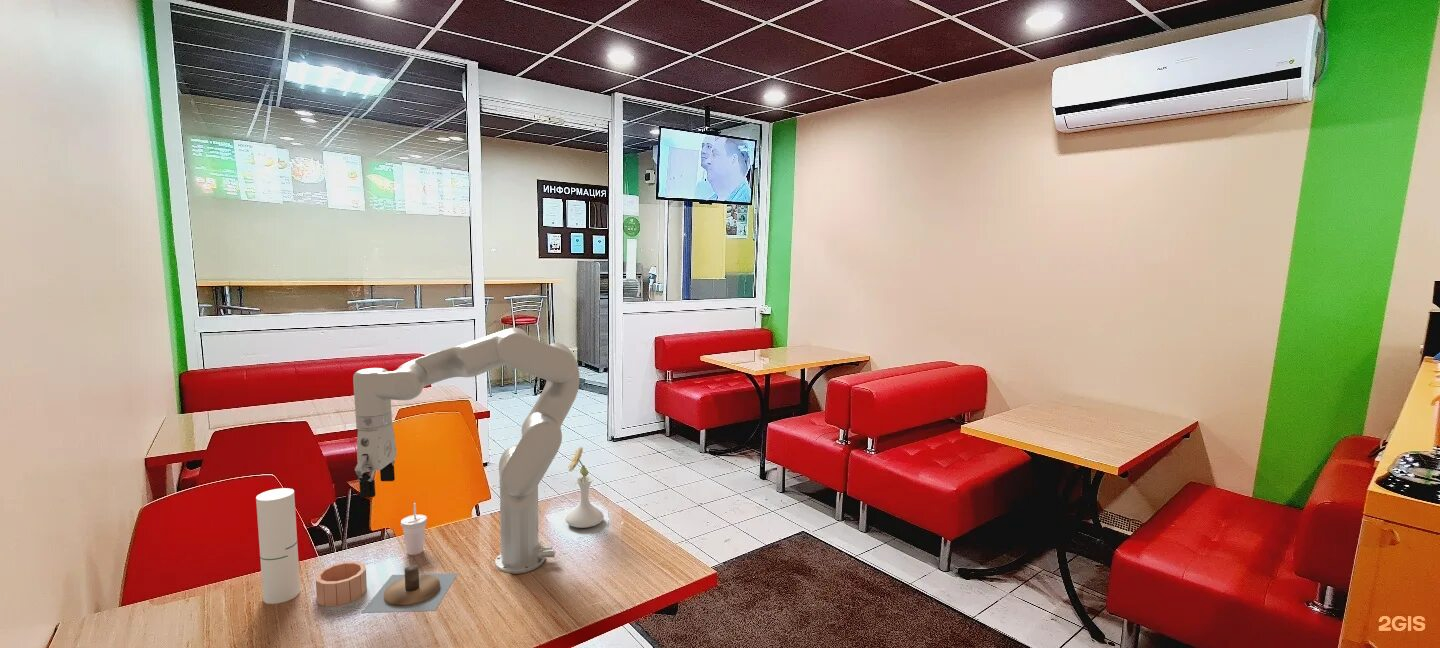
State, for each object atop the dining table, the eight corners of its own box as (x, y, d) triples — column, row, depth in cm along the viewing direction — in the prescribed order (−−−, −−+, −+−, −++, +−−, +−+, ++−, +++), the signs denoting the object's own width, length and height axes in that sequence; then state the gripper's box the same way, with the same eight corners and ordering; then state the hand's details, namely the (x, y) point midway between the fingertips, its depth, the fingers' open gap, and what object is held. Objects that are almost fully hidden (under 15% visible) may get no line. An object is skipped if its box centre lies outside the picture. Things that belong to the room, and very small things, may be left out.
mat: (458, 575, 156) (458, 573, 156) (435, 612, 140) (435, 610, 140) (392, 577, 154) (392, 574, 154) (361, 615, 138) (361, 612, 138)
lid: (447, 577, 154) (446, 555, 153) (429, 605, 142) (428, 581, 141) (396, 579, 152) (395, 556, 152) (374, 607, 140) (373, 582, 140)
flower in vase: (572, 513, 193) (572, 436, 190) (608, 516, 192) (608, 439, 189) (557, 532, 180) (557, 450, 177) (595, 535, 179) (595, 452, 176)
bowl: (374, 583, 151) (373, 560, 150) (354, 607, 141) (352, 583, 140) (331, 585, 150) (329, 561, 149) (307, 608, 140) (306, 584, 139)
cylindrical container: (307, 590, 147) (301, 490, 144) (277, 606, 141) (270, 502, 138) (286, 584, 150) (279, 486, 146) (255, 600, 143) (248, 497, 140)
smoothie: (433, 548, 169) (431, 499, 167) (419, 560, 163) (417, 509, 161) (411, 546, 170) (409, 498, 168) (396, 558, 163) (394, 508, 162)
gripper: (372, 431, 138) (376, 503, 140) (406, 410, 155) (409, 475, 158) (337, 431, 138) (342, 503, 140) (375, 410, 155) (379, 475, 157)
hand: (378, 488), depth 149 cm, fingers open, 9 cm apart
